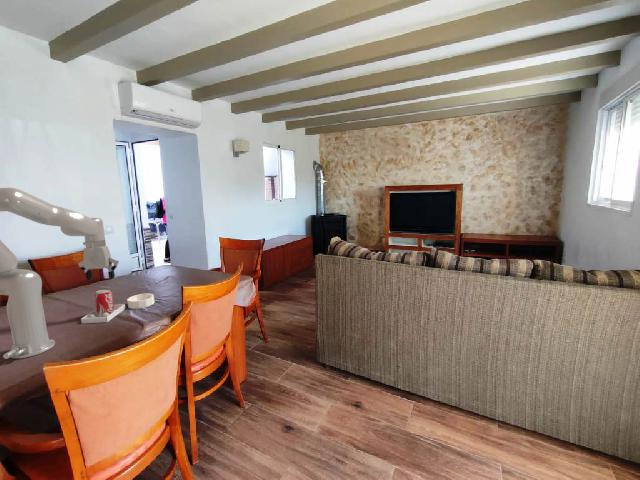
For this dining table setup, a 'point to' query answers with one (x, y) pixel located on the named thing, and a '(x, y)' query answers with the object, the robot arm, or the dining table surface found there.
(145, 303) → the bowl
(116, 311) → the parts tray
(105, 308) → the soda can
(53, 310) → the dining table surface
